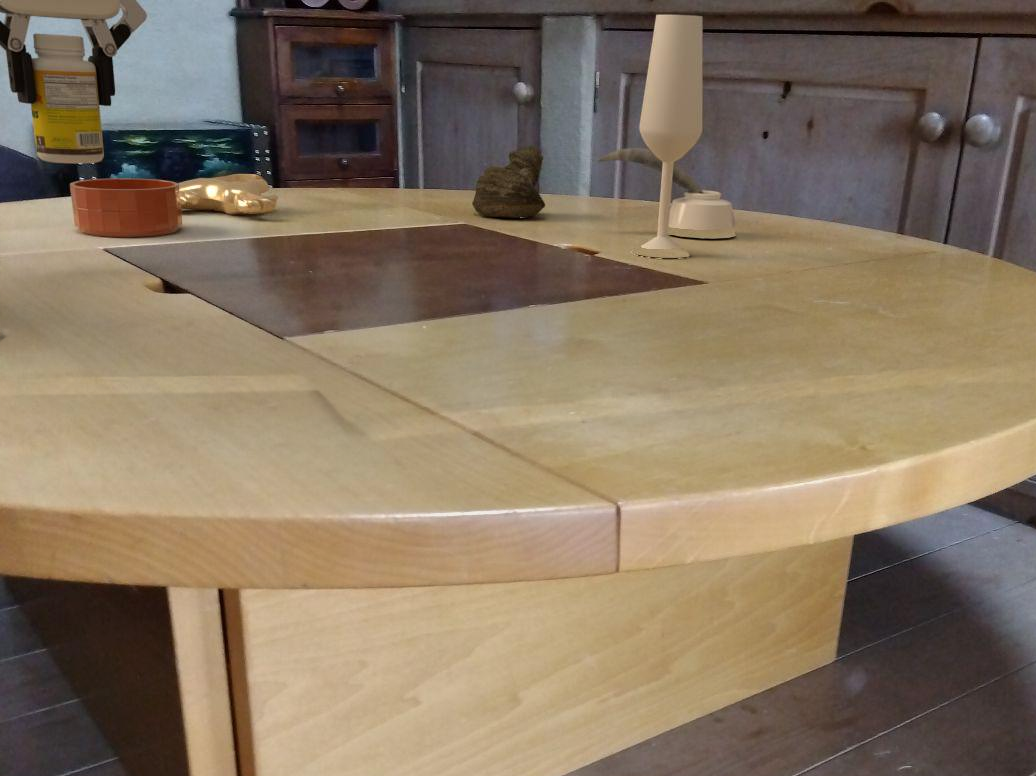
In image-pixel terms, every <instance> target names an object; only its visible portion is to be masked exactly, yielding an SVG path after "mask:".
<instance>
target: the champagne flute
mask: <svg viewBox="0 0 1036 776" xmlns="http://www.w3.org/2000/svg"><path fill="white" fill-rule="evenodd" d="M645 80H646V81H645V87H644V94H643V99H642V107H641V113H640V121H639V124H638V125H639V126H638V128H639V134H640V136H641V138H642V140H643V142H644V143H645V145H646V146H647V149H648V150H651V151H652V152H653V154H654V155H655V156H656V157H657V158H658V159H660V160H661V161H662V162H663V165H662V172H661V178H660V182H661V183H660V193H659V205H658V206H659V208H658V221H657V231H656V232H657V234H656V236H655V237H653V238H651V239H650V240H648V241H647V242H645V243H643V244H642V245H640V246H641V247H642V248H646V249H672V248H676V247H679V246H680V244H678V243H677V242H675V241H674V240H673V239H671V237H669V235H668V227H669V214H670V206H671V203H672V190H673V189H672V188H673V187H672V186H673V181H672V176H673V163H674V162H675V163H676V162H677V161H678V160H680V159H682V158H683V157H684V156H685V155H686V154H687V153H688V152H689V151H690V150H691V149H692V148H693V147H694V146H695V145H696V143H697V142H698V141H699V139H700V138H701V136H702V133H703V16H701V15H691V14H690V15H689V14H656V15H655V21H654V27H653V33H652V40H651V48H650V55H649V60H648V66H647V74H646V79H645ZM630 253H631V254H632V255H634V256H637V257H639V256H638V255H635V254H633V253H632V251H631V252H630ZM640 257H642V258H644V257H643V256H640ZM646 258H649V259H651V258H650V257H646ZM688 258H689V257H687V258H686V259H688ZM656 259H657V260H658V259H660V260H663V259H662V258H656ZM680 259H681V260H682V259H683V258H678V259H677V260H680Z"/></svg>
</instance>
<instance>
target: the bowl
mask: <svg viewBox="0 0 1036 776" xmlns="http://www.w3.org/2000/svg"><path fill="white" fill-rule="evenodd" d="M178 183H179V182H175V181H172V180H164V179H154V178H153V179H152V178H132V177H131V178H125V177H124V178H123V177H122V178H118V177H117V178H115V177H114V178H93V179H84V180H76V181H73V182H70V183H69V189H70V190H69V191H70V197H71V205H72V206H71V207H72V214H73V222H74V227H76V228H78V229H80V232H81V233H83V234H87V235H91V236H96V237H108V238H109V237H110V238H111V237H112V238H115V237H116V238H142V237H143V238H144V237H155V236H163V235H170V234H173V233H176V232H178V231H179V227H181V226H183V214H182V209H181V201H180V190H179V184H178Z"/></svg>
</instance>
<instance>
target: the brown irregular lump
mask: <svg viewBox="0 0 1036 776" xmlns="http://www.w3.org/2000/svg"><path fill="white" fill-rule="evenodd" d="M508 160H509V164H508V165H505V166H504V167H502V166H491V167H489V168H486V169H485V170H484V171H483V175H479V177H478V179H477V181H476V186H475V194H474V197H473V200H472V202H471V206H472V207H473V208H474V210H475V212H477V214H478V215H480V216H482V217H485V216H487V217H486V218H505V219H509V218H510V219H513V218H520V217H528V218H530V217H529V216H531V217H534V215H535V216H537V215H538V214H539V213H540V212H541V211H542V210H543V209H544V208H546V203H545V201H544V199H543V197H542V196H541V194H540V192H539V191H538V190H537V189H536V186H537V184H538V182H539V178H540V173H541V170H542V166H543V160H544V156H543V154H542V151H541V149H540V147H539V146H534V145H526V146H525V147H523V148H522V149H520V150H515V151H511V152H510V153H509V154H508Z"/></svg>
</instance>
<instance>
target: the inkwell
mask: <svg viewBox="0 0 1036 776" xmlns="http://www.w3.org/2000/svg"><path fill="white" fill-rule="evenodd" d="M610 161H618V162H619V161H621V162H622V161H627V162H630V163H636V164H640V165H643V166H644V167H647V168H650V169H653V170H656V171H659V172H661V173H662V165H663V162H662V161H661V160H660V159H658V158H657V157H656V156H655V155H654V154H653V152H652V151H651V150H650V149H649V148H643V147H631V148H630V147H629V148H628V147H627V148H621V149H617V150H614V151H611V152H608V153H607V154H604V155H603V156H602V157H601V158H599V159H598V160H597V161H596V163H602V162H603V163H604V162H610ZM673 182H674V183H676V184H678V186H679V187H681V188H683V189H686V190H685V191H683V196H681V197H676V198H673V199H672V200H671V202H670V214H669V227H671V228H679V229H693V230H714V229H726V228H731V227H734V226H735V227H736V221H735V217H734V216H735V215H734V209H733V205H732V203H731V201H729V200H726V199H723V198H721V197H722V193H721V192H720V191H715V190H706V189H702V188H701V186H700V184H699V183H698V182H697V181H696V179H694V178H693V176H692V175H690V174H689V172H687V171H686V169H684V168H683V167H682V166H681V165H679V163H677V162H676V161H675V162H674V163H673V176H672V183H673Z"/></svg>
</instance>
